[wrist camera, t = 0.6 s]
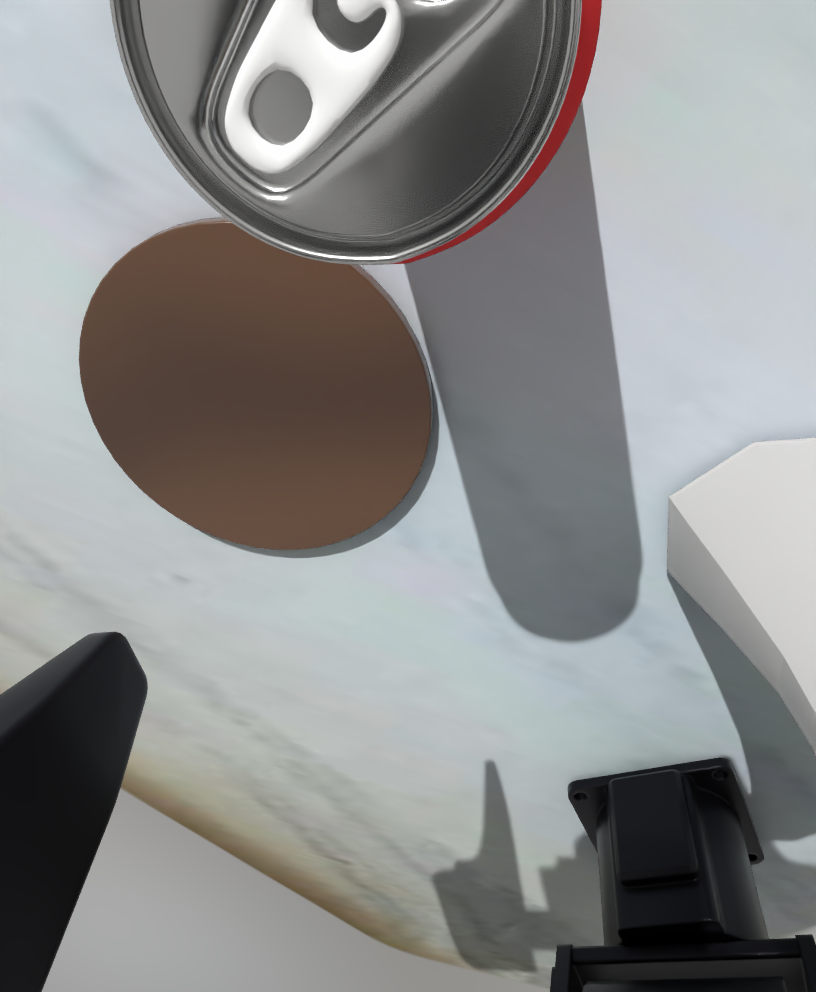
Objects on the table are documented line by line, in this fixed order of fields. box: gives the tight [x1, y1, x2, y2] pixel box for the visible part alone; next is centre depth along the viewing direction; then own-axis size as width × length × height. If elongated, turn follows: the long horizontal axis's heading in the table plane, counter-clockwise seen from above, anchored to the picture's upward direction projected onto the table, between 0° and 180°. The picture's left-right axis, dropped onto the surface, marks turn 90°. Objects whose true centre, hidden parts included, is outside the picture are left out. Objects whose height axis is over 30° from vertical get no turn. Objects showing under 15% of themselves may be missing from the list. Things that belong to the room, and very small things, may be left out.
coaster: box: [79, 217, 433, 550], centre depth 24 cm, size 11×11×1 cm
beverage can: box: [110, 0, 602, 265], centre depth 12 cm, size 5×5×12 cm
